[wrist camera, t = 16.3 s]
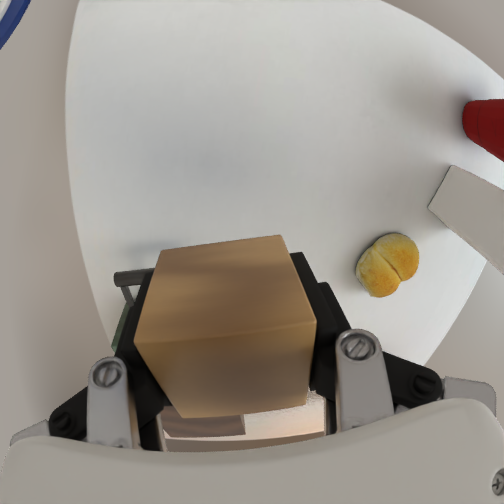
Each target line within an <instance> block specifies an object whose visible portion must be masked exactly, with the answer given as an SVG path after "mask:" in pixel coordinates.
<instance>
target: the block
mask: <svg viewBox="0 0 504 504" xmlns="http://www.w3.org/2000/svg"><path fill="white" fill-rule="evenodd" d="M316 323H317V320H316V318H315V315H314V313H313V310H312V308H311V305H310V303H309V300H308V298H307V295H306V293H305V290H304V288H303V286H302V283H301V281H300V278H299V276H298V274H297V271H296V269H295V266H294V264H293V262H292V259H291V257H290V254H289V252H288V250H287V247H286V245H285V243H284V240H283V238H282V236H281V235H273V236H265V237H257V238H249V239H241V240H233V241H226V242H218V243H211V244H203V245H196V246H188V247H181V248H174V249H167V250H162V251H161V252H160V255H159V258H158V261H157V264H156V267H155V270H154V273H153V276H152V279H151V282H150V285H149V288H148V292H147V295H146V298H145V301H144V305H143V308H142V312H141V315H140V319H139V322H138V326H137V329H136V333H135V337H134V344H135V346H136V348H137V349H138V351H139V353H140V355H141V356H142V358H143V360H144V361H145V363H146V365H147V366H148V368H149V369H150V371H151V373H152V374H153V376H154V377H155V379H156V381H157V382H158V384H159V385H160V387H161V388H162V390H163V391H164V393H165V394H166V396H167V397H168V399H169V400H170V401H171V403H172V404H173V406H174V407H175V409H176V410H177V411H178V413H179V414H180V415H181V417H182V418H202V417H219V416H232V415H242V414H251V413H259V412H266V411H273V410H279V409H285V408H291V407H296V406H301V405H305V404H306V400H307V393H308V387H309V380H310V373H311V366H312V358H313V350H314V342H315V333H316Z"/></svg>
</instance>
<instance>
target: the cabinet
mask: <svg viewBox="0 0 504 504" xmlns="http://www.w3.org/2000/svg"><path fill="white" fill-rule="evenodd" d="M160 415H161V420H162V426H163V429H164V430H165V431H166V432H167V433H168V434H169V436H170V437H220V436H235V435H245V434H246V432H245V424H244V414H242V415H232V416H219V417H202V418H182V417H181V415H180V414H179V413H178V411H177V410H176V409H175V407H174V406H173V405H172V406H164V410H163V411H161V412H160Z"/></svg>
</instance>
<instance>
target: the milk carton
mask: <svg viewBox="0 0 504 504" xmlns="http://www.w3.org/2000/svg"><path fill="white" fill-rule="evenodd" d="M428 209H429V210H430V211H431V212H432V213H434V214H435V215H436V216H437V217H438V218H439V219H440V220H441V221H442V222H443V223H444V224H445V225H446V226H448V227H449V228H450V229H451V230H452V231H453V232H454V233H456V234H457V235H458V236H459V237H461V238H462V239H463V240H464V241H466V242H467V243H468V244H469V245H470V246H472V247H473V248H474V249H475V250H476V251H478V252H479V253H480V254H481V255H482V256H483V257H485V258H486V259H487V260H488V261H489V262H490V263H491V264H492V265H494V266H495V267H496V268H497V269H498V270H499V271H500V272H501V273H502V274H503V275H504V190H502V189H500V188H499V187H497V186H495V185H493V184H491V183H489V182H487V181H486V180H484V179H482V178H480V177H478V176H476V175H474V174H472V173H470V172H467V171H465V170H463V169H461V168H459V167H457V166H454V165H451V167H450V169H449V171H448V173H447V174H446V176H445V178H444V180H443V182H442V184H441V185H440V187H439V189H438V191H437V193H436V194H435V196H434V198H433V199H432V201H431V203H430V205H429V206H428Z"/></svg>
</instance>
